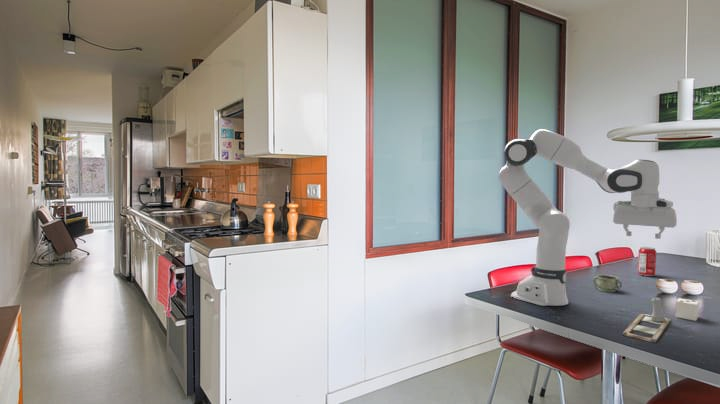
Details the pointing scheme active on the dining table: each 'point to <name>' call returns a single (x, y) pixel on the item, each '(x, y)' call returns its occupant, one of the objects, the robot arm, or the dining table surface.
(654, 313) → the rook chess piece
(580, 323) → the dining table surface
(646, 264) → the soda can
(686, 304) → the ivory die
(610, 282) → the vessel
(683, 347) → the dining table surface
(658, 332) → the track board
